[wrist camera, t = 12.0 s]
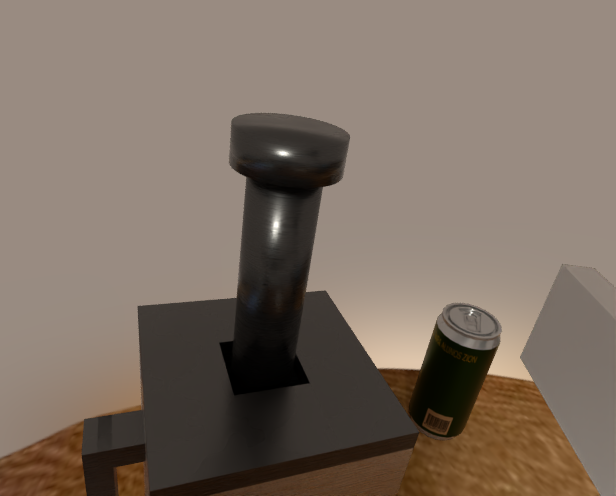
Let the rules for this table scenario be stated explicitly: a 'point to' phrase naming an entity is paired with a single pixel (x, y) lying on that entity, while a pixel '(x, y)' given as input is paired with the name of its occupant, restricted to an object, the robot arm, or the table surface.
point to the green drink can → (454, 370)
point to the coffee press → (252, 414)
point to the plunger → (277, 237)
